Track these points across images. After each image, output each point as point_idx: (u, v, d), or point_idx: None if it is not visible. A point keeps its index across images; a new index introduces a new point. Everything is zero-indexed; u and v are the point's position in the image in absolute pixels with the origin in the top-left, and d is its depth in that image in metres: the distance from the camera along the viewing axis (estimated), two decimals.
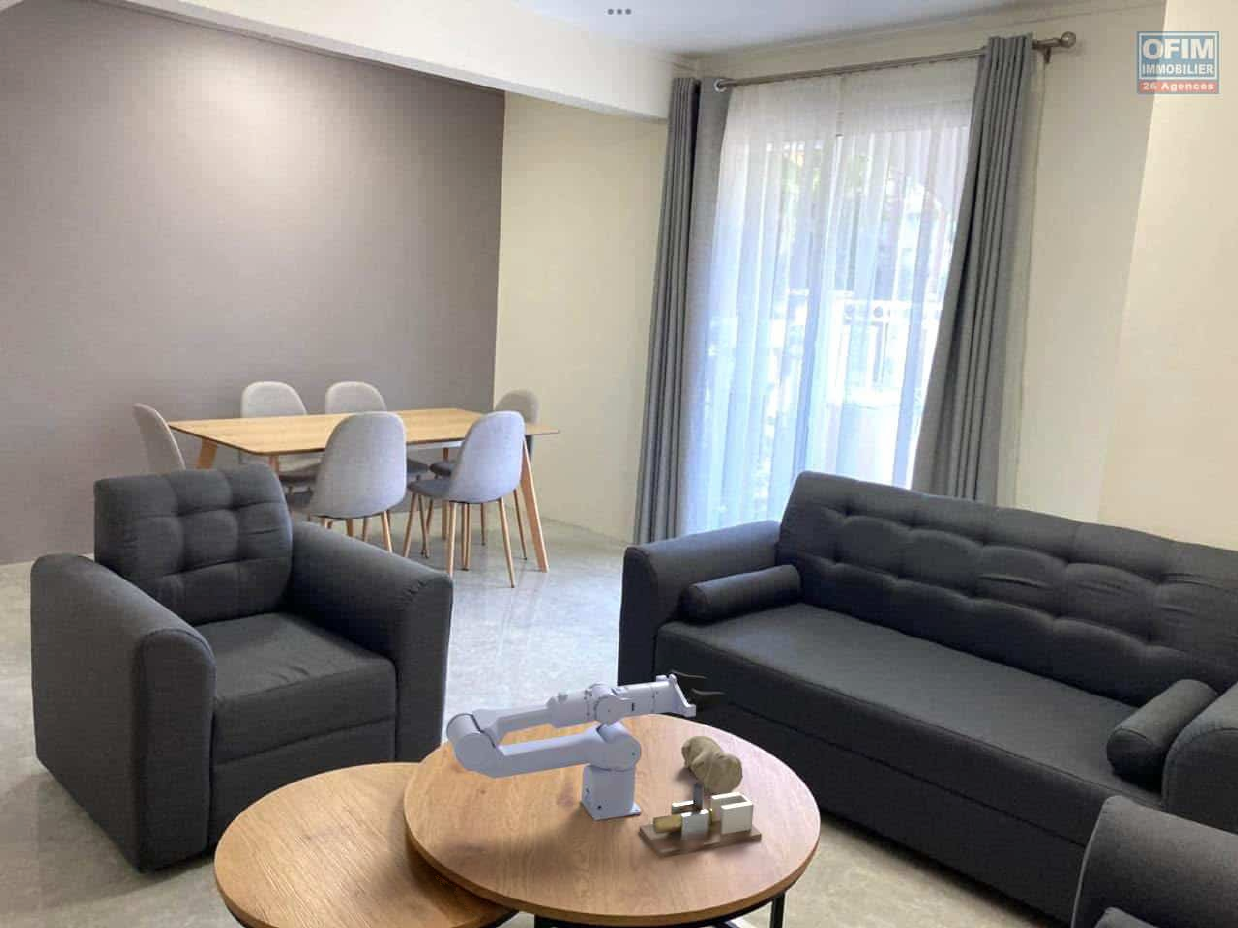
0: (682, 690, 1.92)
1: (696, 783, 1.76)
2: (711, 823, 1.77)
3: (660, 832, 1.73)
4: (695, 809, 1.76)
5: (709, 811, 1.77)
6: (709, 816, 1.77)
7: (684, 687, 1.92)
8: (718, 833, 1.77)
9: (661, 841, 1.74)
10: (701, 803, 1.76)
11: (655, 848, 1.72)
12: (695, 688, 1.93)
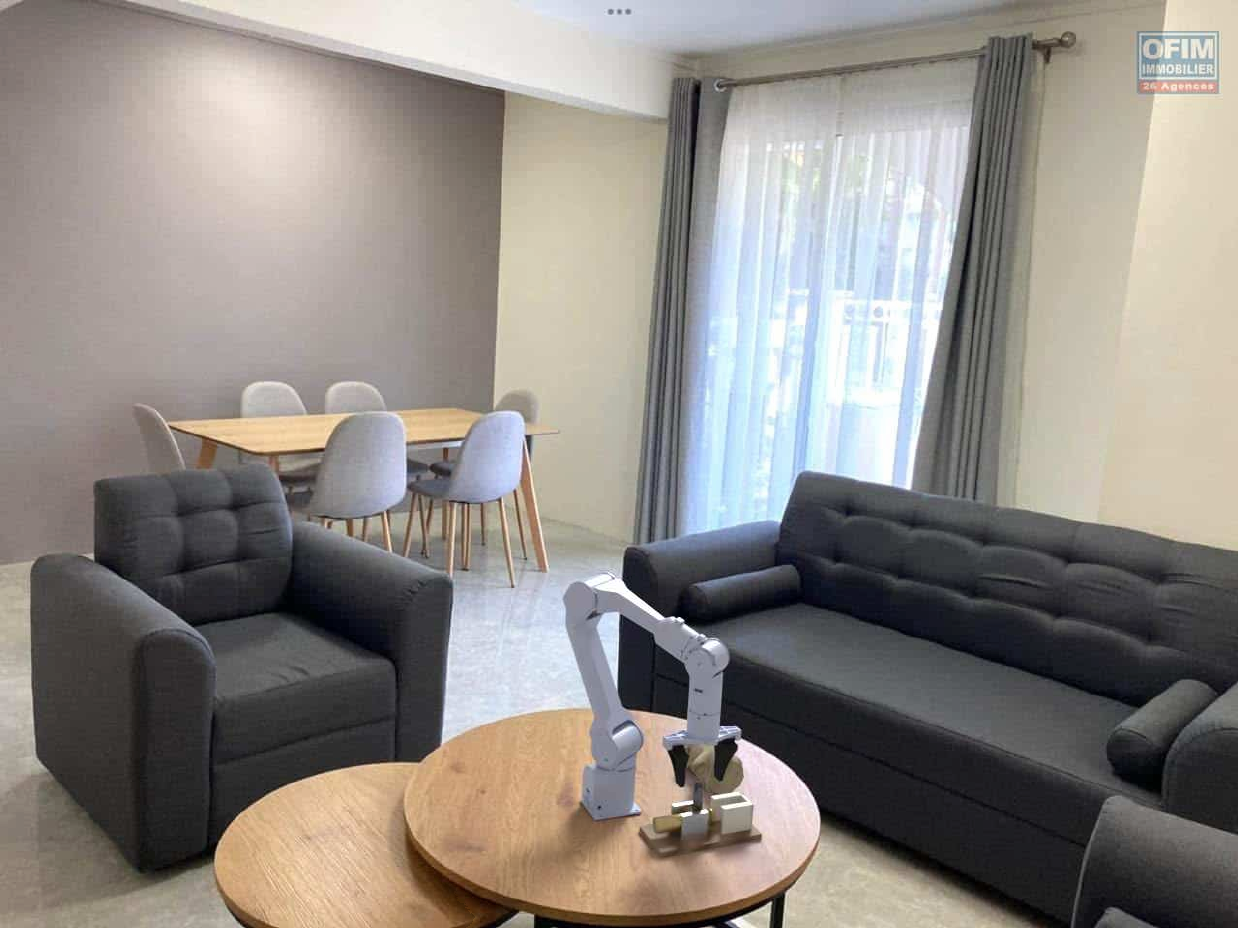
0: (716, 749, 1.78)
1: (696, 783, 1.76)
2: (711, 823, 1.77)
3: (660, 832, 1.73)
4: (695, 809, 1.76)
5: (709, 811, 1.77)
6: (709, 816, 1.77)
7: (718, 753, 1.77)
8: (718, 833, 1.77)
9: (661, 841, 1.74)
10: (701, 803, 1.76)
11: (655, 848, 1.72)
12: (715, 764, 1.78)
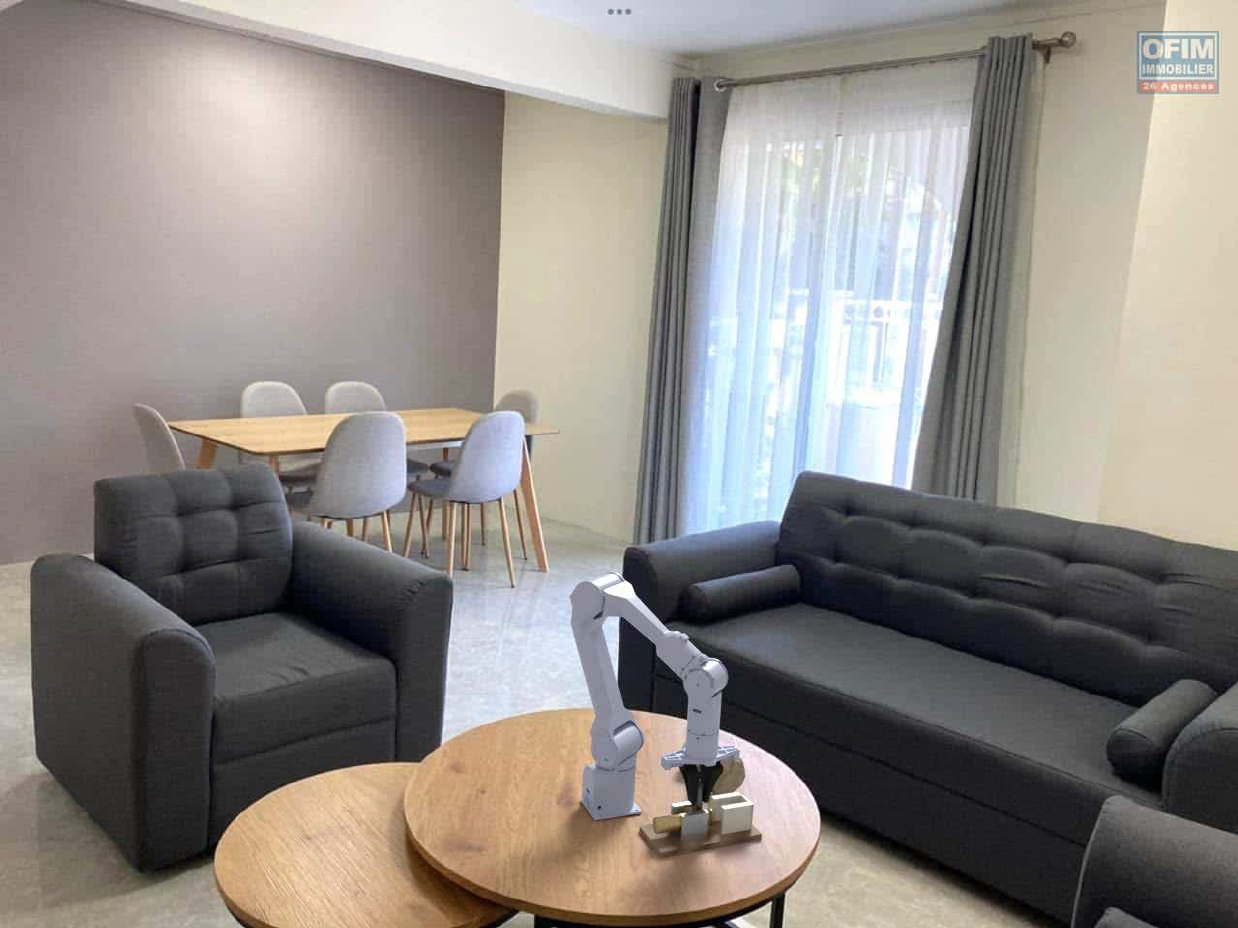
0: (702, 771, 1.77)
1: None
2: (711, 823, 1.77)
3: (660, 832, 1.73)
4: (695, 809, 1.76)
5: (709, 811, 1.77)
6: (709, 816, 1.77)
7: (703, 774, 1.77)
8: (718, 833, 1.77)
9: (661, 841, 1.74)
10: (701, 803, 1.76)
11: (655, 848, 1.72)
12: None
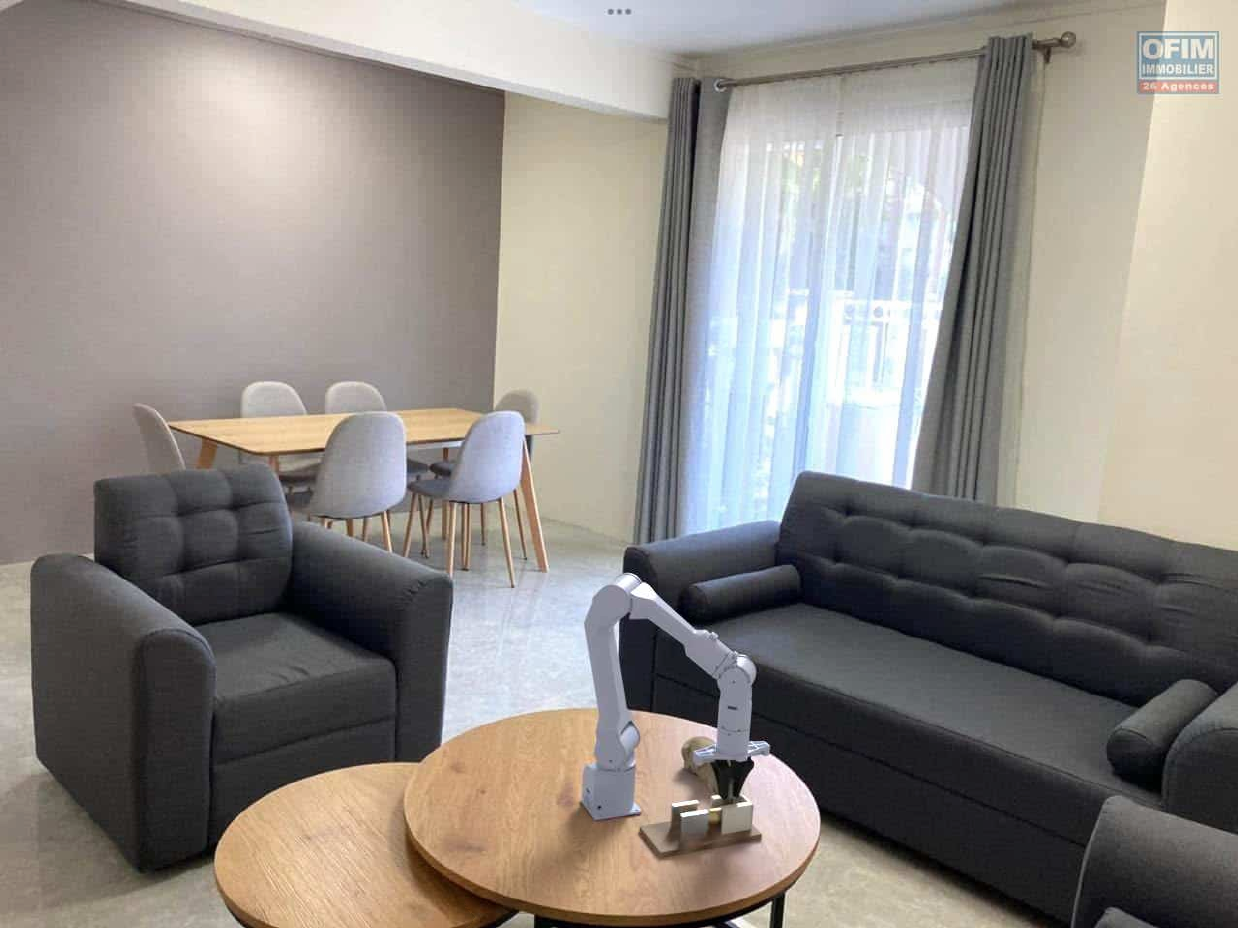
0: (733, 766, 1.80)
1: None
2: None
3: None
4: (726, 804, 1.78)
5: None
6: None
7: (734, 770, 1.79)
8: (718, 833, 1.77)
9: (661, 841, 1.74)
10: (732, 798, 1.78)
11: (655, 848, 1.72)
12: None
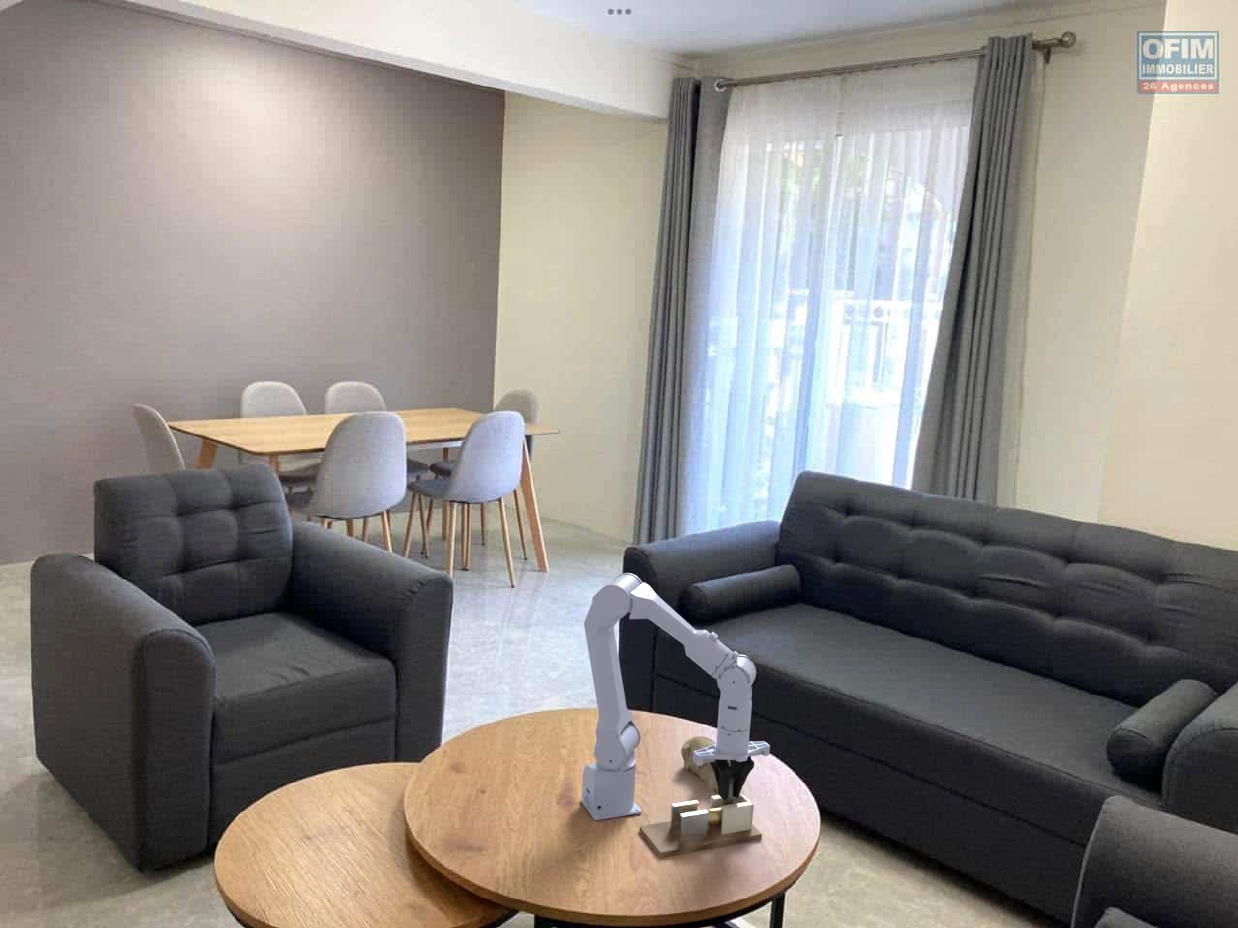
0: (733, 766, 1.80)
1: None
2: None
3: None
4: (726, 804, 1.78)
5: None
6: None
7: (734, 770, 1.79)
8: (718, 833, 1.77)
9: (661, 841, 1.74)
10: (732, 798, 1.78)
11: (655, 848, 1.72)
12: None
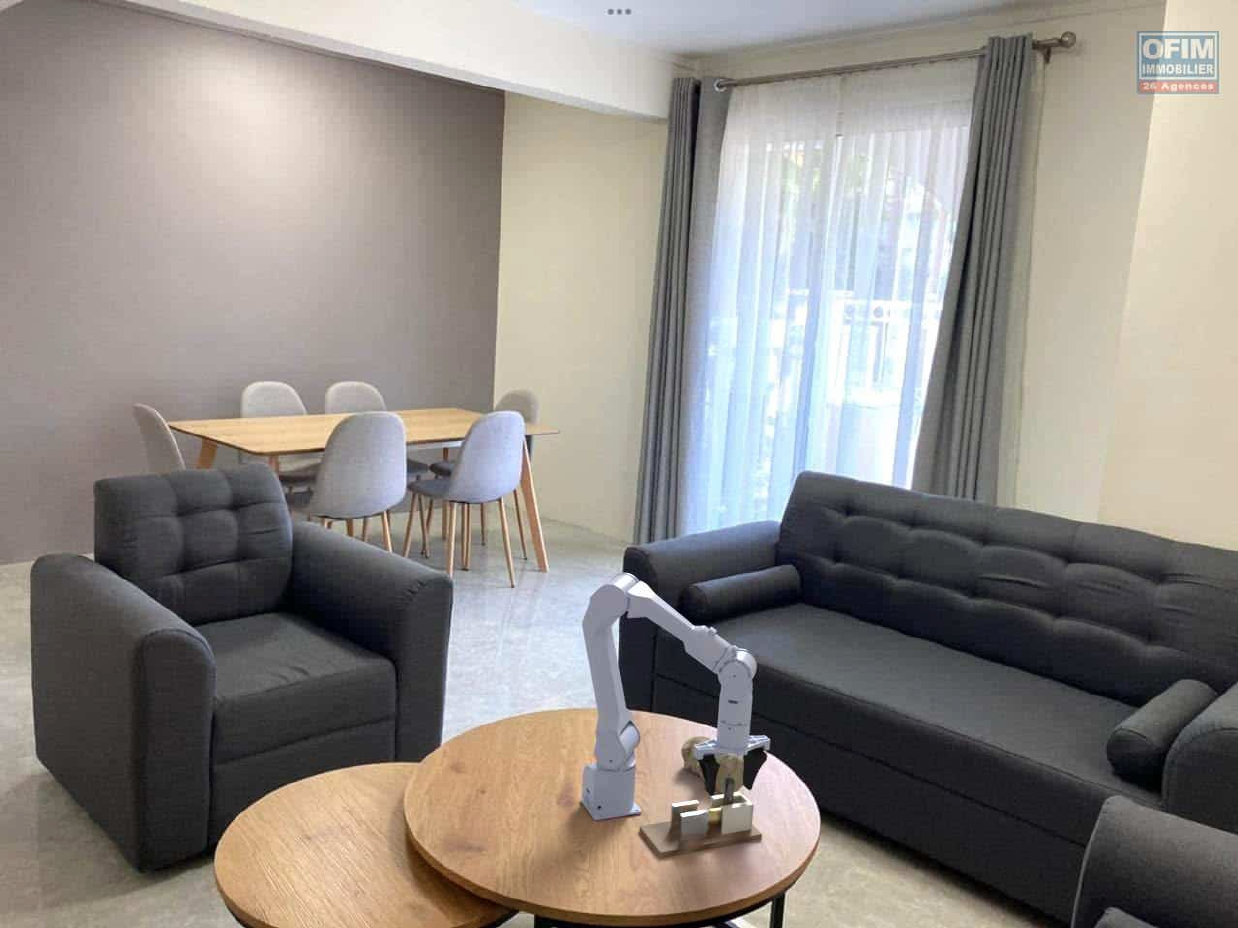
0: (746, 758, 1.80)
1: (727, 778, 1.78)
2: None
3: None
4: (726, 804, 1.78)
5: None
6: None
7: (747, 762, 1.80)
8: (718, 833, 1.77)
9: (661, 841, 1.74)
10: (732, 798, 1.78)
11: (655, 848, 1.72)
12: (744, 773, 1.81)
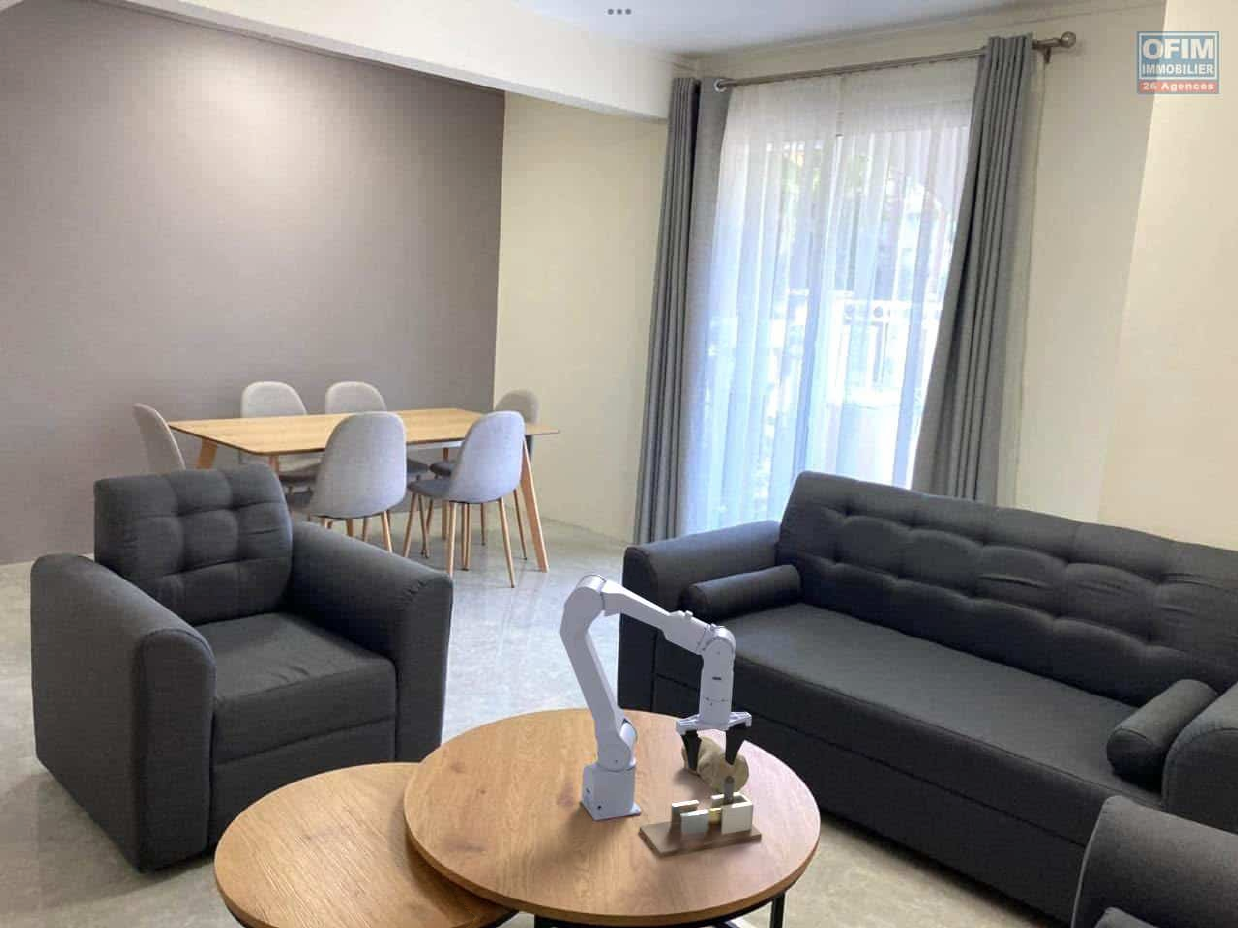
0: (728, 734, 1.84)
1: (727, 778, 1.78)
2: None
3: None
4: (726, 804, 1.78)
5: None
6: None
7: (729, 738, 1.84)
8: (718, 833, 1.77)
9: (661, 841, 1.74)
10: (732, 798, 1.78)
11: (655, 848, 1.72)
12: (727, 749, 1.84)
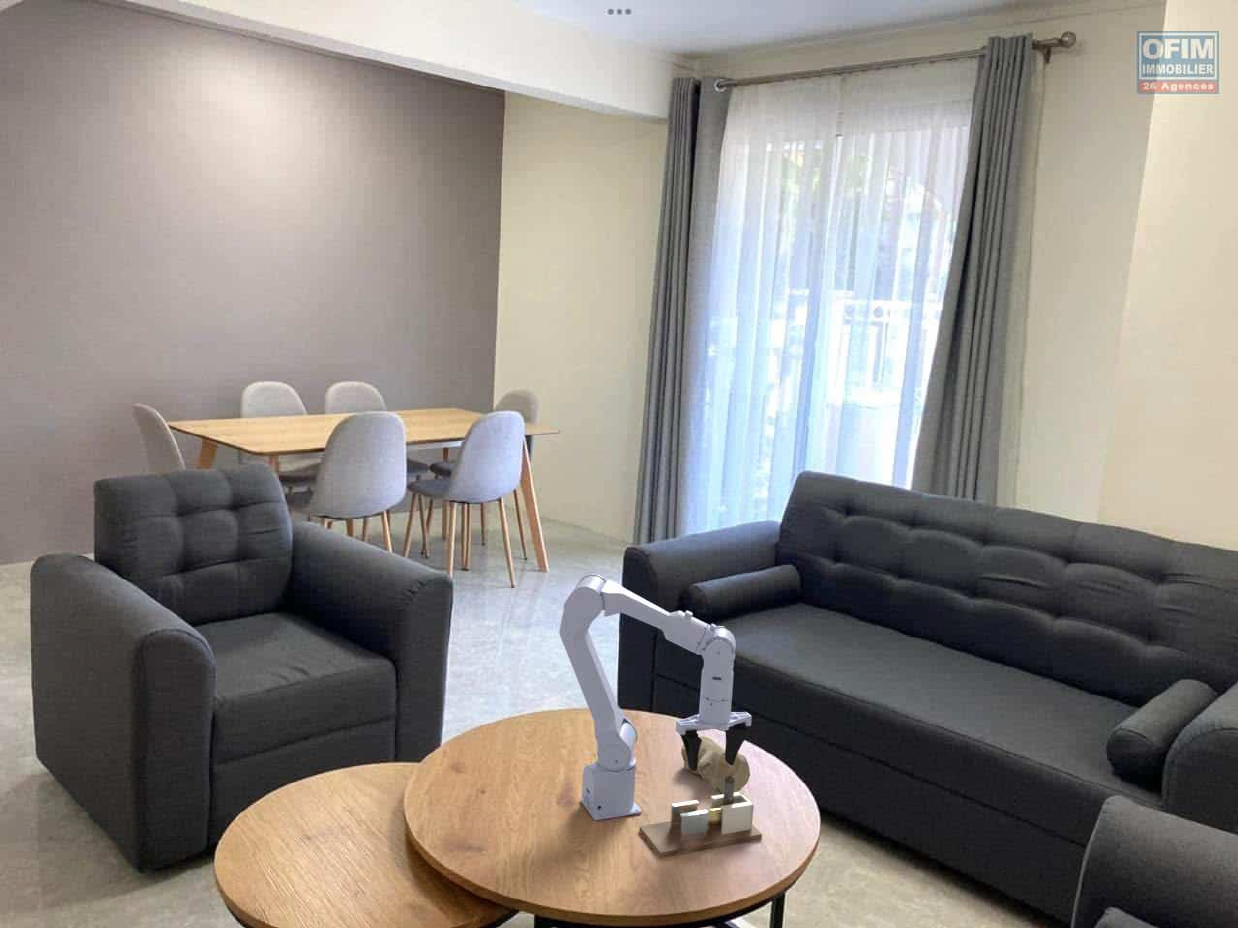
0: (728, 734, 1.84)
1: (727, 778, 1.78)
2: None
3: None
4: (726, 804, 1.78)
5: None
6: None
7: (729, 738, 1.84)
8: (718, 833, 1.77)
9: (661, 841, 1.74)
10: (732, 798, 1.78)
11: (655, 848, 1.72)
12: (727, 749, 1.84)
